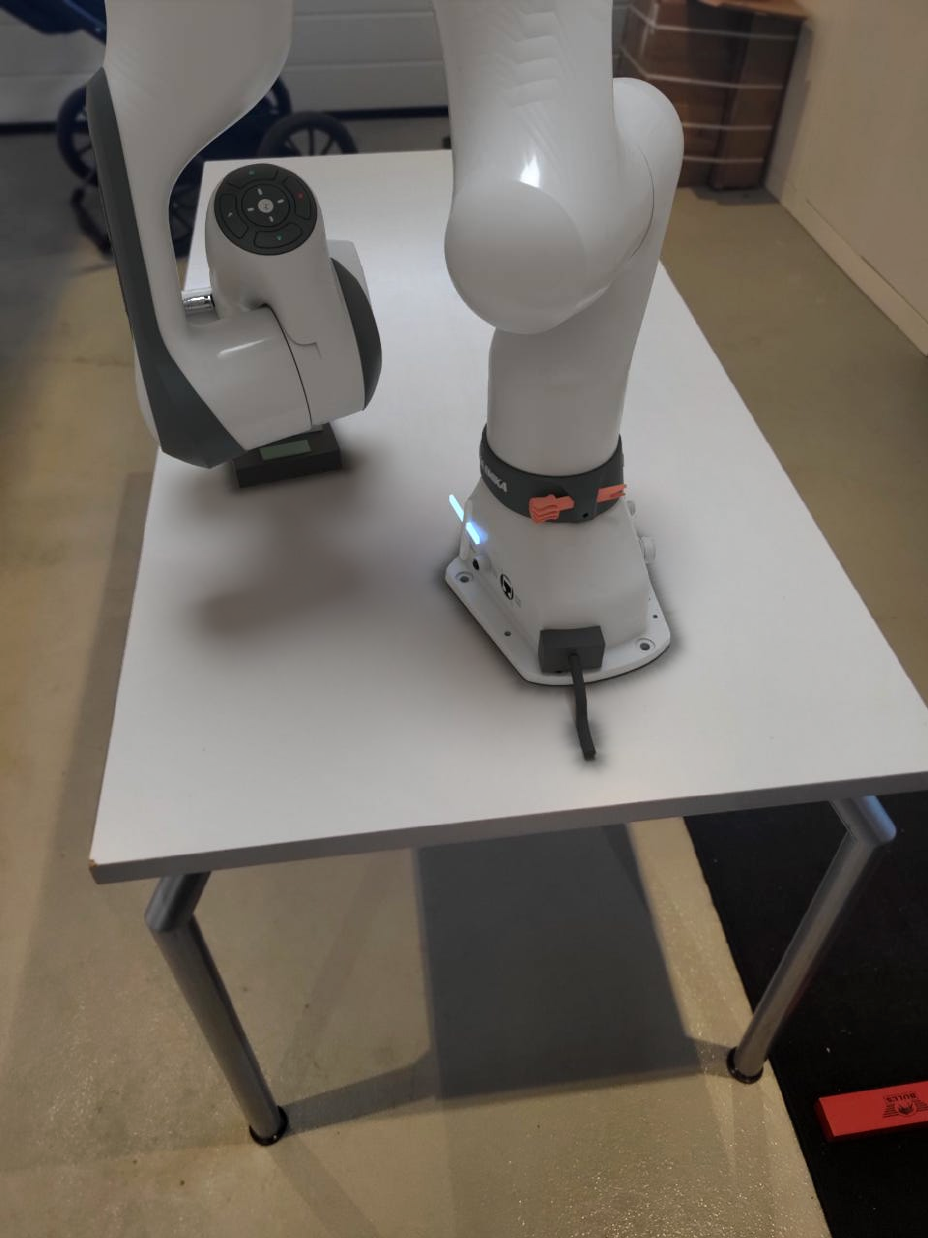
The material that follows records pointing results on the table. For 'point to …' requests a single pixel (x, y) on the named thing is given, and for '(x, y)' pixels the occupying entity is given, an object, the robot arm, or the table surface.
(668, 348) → the table surface
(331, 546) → the table surface
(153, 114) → the robot arm
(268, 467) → the kitchen scale
